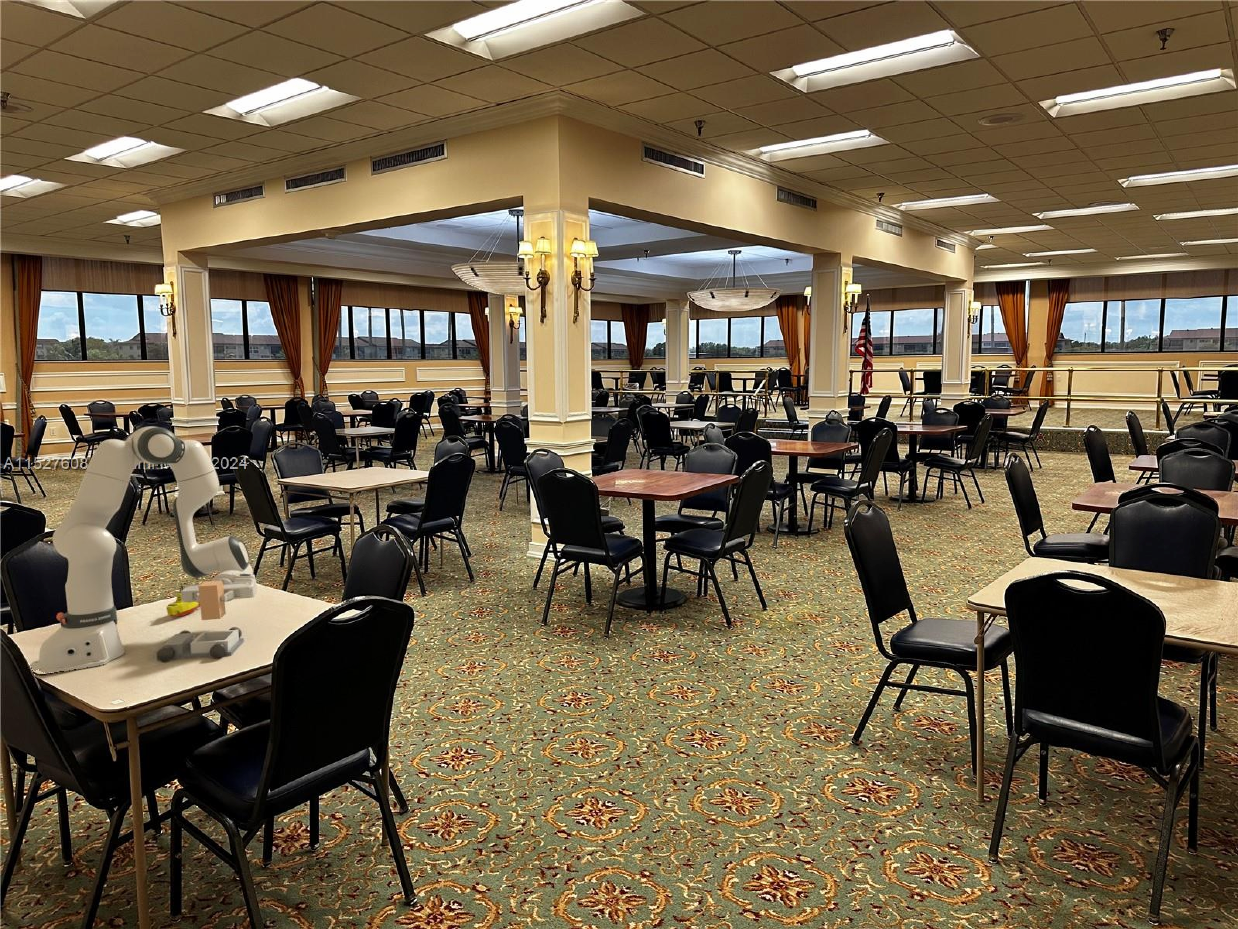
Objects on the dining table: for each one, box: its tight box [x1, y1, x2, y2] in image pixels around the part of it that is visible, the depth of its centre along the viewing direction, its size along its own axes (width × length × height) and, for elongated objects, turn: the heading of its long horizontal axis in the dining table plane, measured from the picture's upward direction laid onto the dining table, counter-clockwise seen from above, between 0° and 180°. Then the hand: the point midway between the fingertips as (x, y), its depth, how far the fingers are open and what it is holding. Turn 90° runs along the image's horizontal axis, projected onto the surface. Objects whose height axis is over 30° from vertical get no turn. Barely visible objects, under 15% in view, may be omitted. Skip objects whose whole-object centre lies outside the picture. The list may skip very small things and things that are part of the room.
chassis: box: [155, 626, 245, 663], centre depth 240 cm, size 20×16×4 cm
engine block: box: [198, 580, 226, 621], centre depth 239 cm, size 5×5×10 cm
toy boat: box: [166, 585, 200, 617], centre depth 277 cm, size 6×18×10 cm, turn 174°
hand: (211, 599), depth 238 cm, fingers closed on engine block, 5 cm apart
